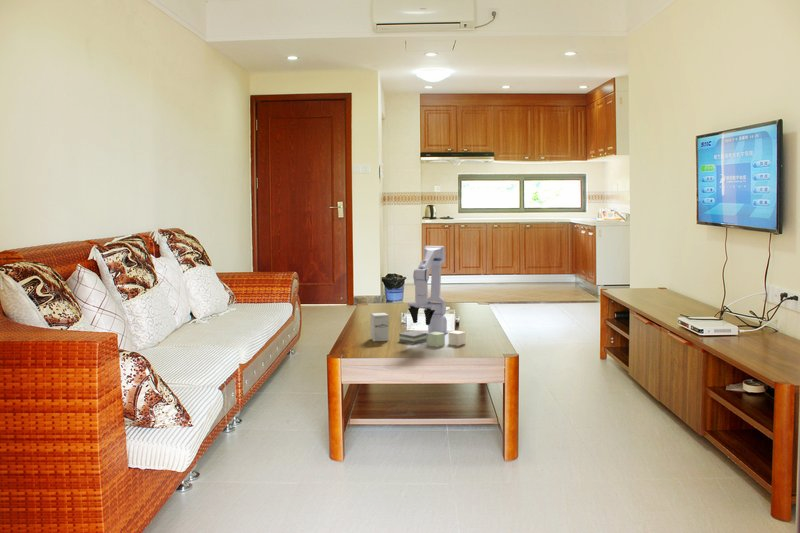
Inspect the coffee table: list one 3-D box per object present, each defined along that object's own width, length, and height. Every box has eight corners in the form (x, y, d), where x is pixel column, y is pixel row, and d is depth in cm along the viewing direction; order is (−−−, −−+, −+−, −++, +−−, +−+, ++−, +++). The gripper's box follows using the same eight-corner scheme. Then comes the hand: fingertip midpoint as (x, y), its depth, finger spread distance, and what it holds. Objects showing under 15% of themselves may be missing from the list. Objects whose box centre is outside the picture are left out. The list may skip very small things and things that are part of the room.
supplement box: (373, 342, 321) (373, 315, 320) (370, 338, 329) (370, 313, 327) (389, 340, 323) (388, 314, 322) (385, 337, 330) (385, 312, 329)
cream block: (455, 342, 320) (455, 330, 319) (465, 343, 316) (465, 332, 316) (448, 344, 316) (448, 332, 315) (458, 345, 312) (458, 333, 311)
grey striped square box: (411, 338, 329) (411, 330, 329) (426, 341, 323) (426, 333, 323) (399, 341, 322) (399, 333, 322) (414, 344, 317) (414, 336, 316)
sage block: (435, 343, 318) (435, 331, 317) (444, 345, 314) (444, 333, 313) (427, 345, 313) (427, 333, 313) (437, 347, 310) (437, 335, 309)
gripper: (403, 294, 315) (404, 323, 316) (428, 297, 305) (428, 326, 307) (413, 292, 320) (413, 320, 321) (437, 295, 310) (437, 324, 312)
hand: (421, 323), depth 314 cm, fingers open, 7 cm apart
